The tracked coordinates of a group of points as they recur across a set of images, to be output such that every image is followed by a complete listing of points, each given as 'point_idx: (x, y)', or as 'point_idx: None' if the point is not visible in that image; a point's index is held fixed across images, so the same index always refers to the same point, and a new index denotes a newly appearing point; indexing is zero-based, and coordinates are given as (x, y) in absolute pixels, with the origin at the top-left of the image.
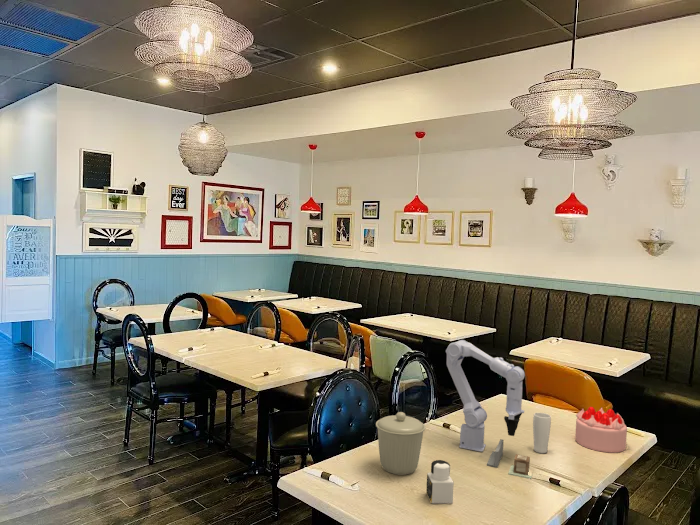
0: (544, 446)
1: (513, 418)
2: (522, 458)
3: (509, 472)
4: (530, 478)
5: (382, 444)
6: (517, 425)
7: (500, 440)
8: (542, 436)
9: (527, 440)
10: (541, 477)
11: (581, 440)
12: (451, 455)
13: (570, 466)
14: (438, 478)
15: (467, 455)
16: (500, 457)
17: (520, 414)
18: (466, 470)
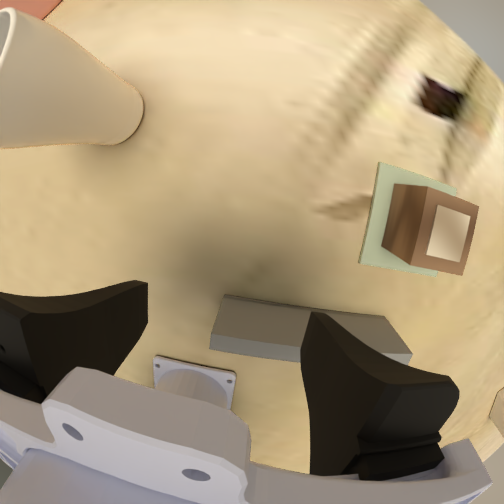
0: (127, 86)
1: (474, 452)
2: (460, 234)
3: (431, 272)
4: (454, 191)
5: None
6: (126, 290)
7: (235, 350)
8: (102, 81)
9: (33, 180)
10: (431, 141)
11: (41, 6)
12: (301, 441)
13: (261, 3)
14: None
15: (287, 410)
16: (309, 314)
17: (41, 326)
18: None
